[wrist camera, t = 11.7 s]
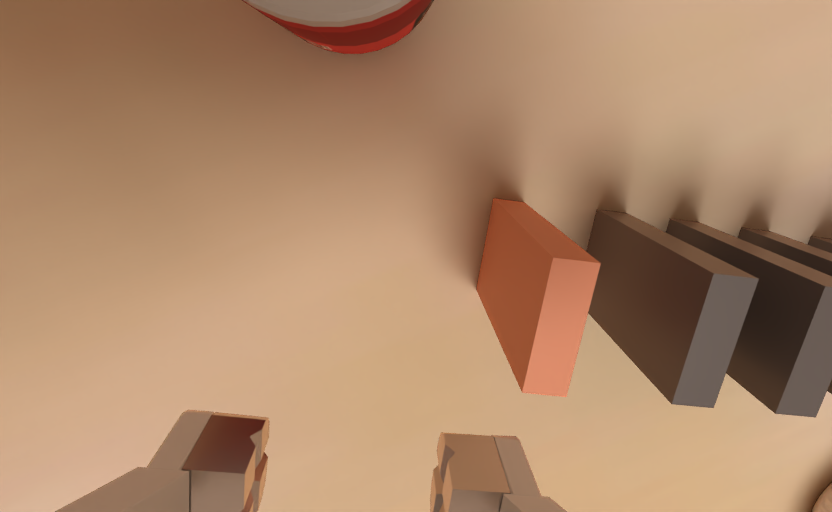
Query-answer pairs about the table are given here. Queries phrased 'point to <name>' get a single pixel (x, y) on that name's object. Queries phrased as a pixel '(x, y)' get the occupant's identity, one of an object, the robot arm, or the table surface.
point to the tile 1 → (668, 306)
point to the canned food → (346, 21)
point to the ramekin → (824, 501)
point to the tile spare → (535, 295)
